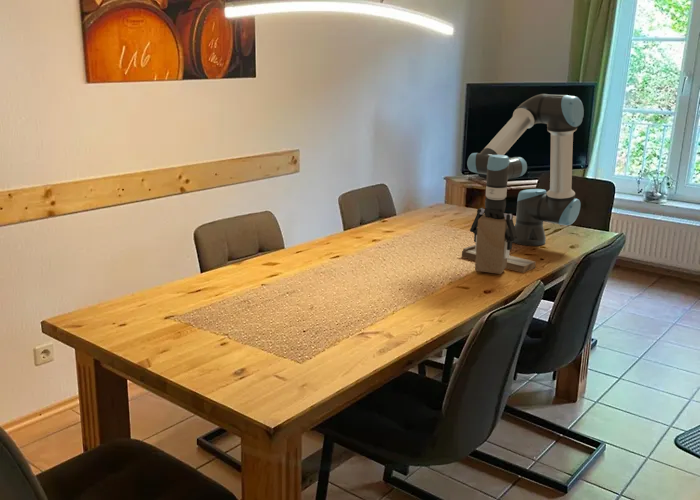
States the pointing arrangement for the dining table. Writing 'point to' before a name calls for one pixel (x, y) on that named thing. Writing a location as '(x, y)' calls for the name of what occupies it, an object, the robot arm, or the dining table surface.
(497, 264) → the wooden block
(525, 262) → the curved panel
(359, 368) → the dining table surface
